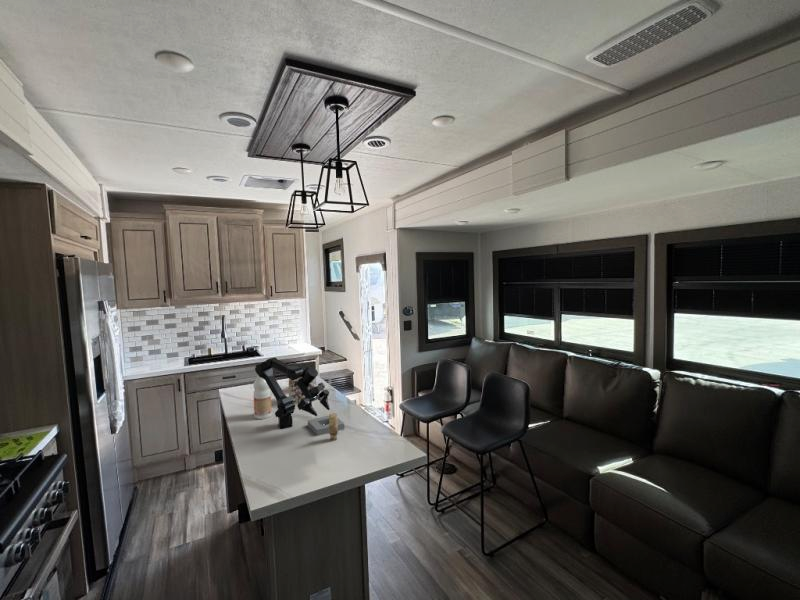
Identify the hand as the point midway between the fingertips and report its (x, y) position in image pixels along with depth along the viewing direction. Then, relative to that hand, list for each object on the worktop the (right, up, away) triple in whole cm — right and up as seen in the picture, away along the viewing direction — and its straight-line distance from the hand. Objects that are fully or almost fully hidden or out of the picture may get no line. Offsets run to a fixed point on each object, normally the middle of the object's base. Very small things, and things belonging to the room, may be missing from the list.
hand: (323, 412), depth 188 cm
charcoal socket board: (-1, -12, +12) cm, 17 cm away
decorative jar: (-27, -9, +53) cm, 60 cm away
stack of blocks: (-30, -7, +80) cm, 86 cm away
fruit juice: (-41, -11, +29) cm, 51 cm away
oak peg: (+6, -13, -2) cm, 14 cm away
